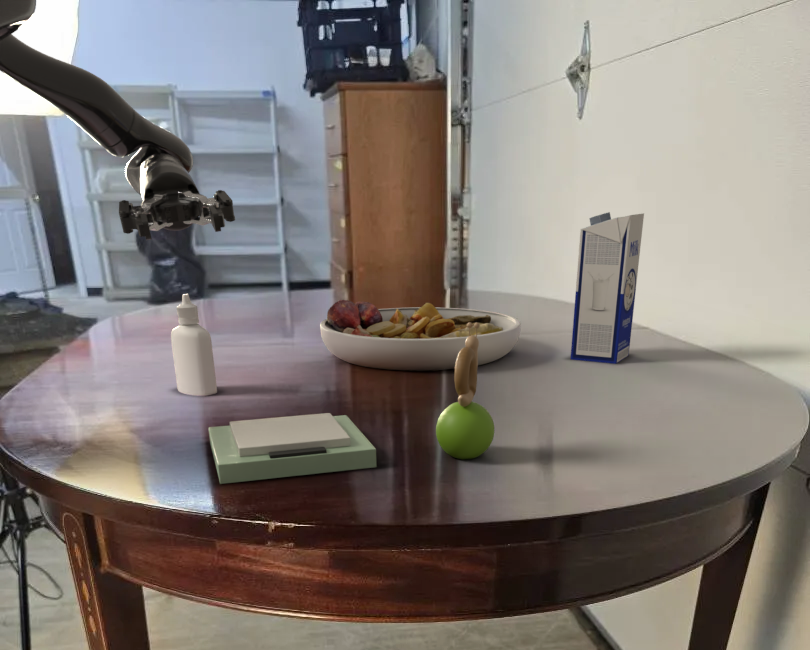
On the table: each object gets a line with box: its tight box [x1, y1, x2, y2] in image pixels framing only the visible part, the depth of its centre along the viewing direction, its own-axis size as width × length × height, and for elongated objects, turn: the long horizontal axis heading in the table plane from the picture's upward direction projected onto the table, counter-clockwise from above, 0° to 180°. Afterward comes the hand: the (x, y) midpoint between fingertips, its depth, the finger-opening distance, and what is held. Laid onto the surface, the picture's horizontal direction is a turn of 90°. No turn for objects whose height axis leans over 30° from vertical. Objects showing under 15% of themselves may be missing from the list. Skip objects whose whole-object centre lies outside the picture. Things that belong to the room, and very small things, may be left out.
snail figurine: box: [435, 322, 495, 460], centre depth 71 cm, size 5×6×12 cm
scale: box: [208, 412, 377, 485], centre depth 73 cm, size 14×12×3 cm
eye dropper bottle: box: [170, 293, 218, 397], centre depth 95 cm, size 4×6×12 cm
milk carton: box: [570, 211, 645, 365], centre depth 110 cm, size 7×7×20 cm
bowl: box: [319, 299, 522, 372], centre depth 117 cm, size 30×30×8 cm
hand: (182, 227), depth 95 cm, fingers open, 8 cm apart
